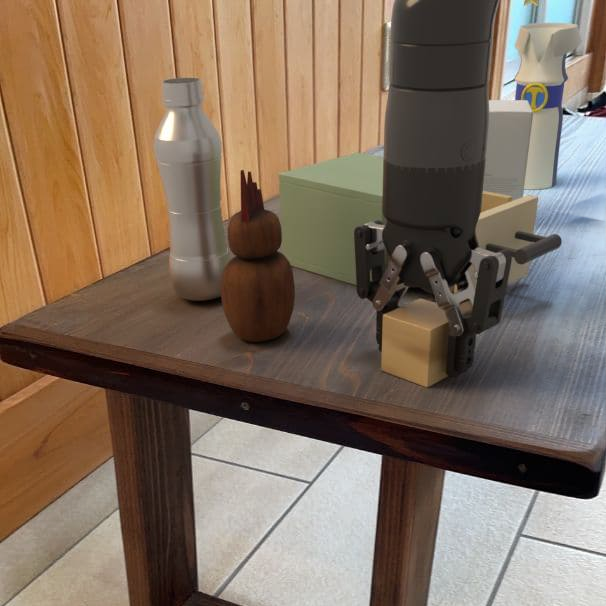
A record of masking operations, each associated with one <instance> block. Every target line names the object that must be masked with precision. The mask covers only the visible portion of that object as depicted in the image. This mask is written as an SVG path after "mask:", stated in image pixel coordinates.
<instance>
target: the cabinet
mask: <svg viewBox="0 0 606 606" xmlns="http://www.w3.org/2000/svg"><path fill="white" fill-rule="evenodd" d="M382 194H383V156H379V155H372V154H369V153H361V152H353V153H349V154H347V155H343V156H339V157H335V158H332V159H327V160H323V161H320V162H315V163H312V164H309V165H305V166H301V167H298V168H294V169H291V170H287V171H283V172H279V173H278V195H279V215H280V216H279V217H280V219H279V221H280V224H281V231H282V243H281V253H282V254H283V255H285V257H286V258H287V259H288V261H289V262H290V265H291V267H294V268H298V269H301V270H303V271H308V272H311V273H313V274H317V275H320V276H324V277H327V278H330V279H334V280H337V281H341V282H343V283H347V284H350V285H354V286H357V284H356V263H355V242H354V230H355V228H356V227H359V226H361V225H363V224H366V223H369V222H373V221H376V220H380V221H381V222H382V223H383V225H386V222H387V220H386V218H385V217H384V216H383V213H382ZM385 270H386V247H385ZM370 281H372V276H371V271H370Z"/></svg>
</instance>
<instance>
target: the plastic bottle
mask: <svg viewBox="0 0 606 606" xmlns="http://www.w3.org/2000/svg"><path fill="white" fill-rule="evenodd" d="M161 91H162V98H161V100H162V105H163V106H165V108H166V109H165V112H164V115H163V116H162V119H161V120H160V122H159V125H158V127H157V130H156V132H155V134H154V139H153V145H152V146H153V152H154V157H155V161H156V165H157V168H158V173H159V176H160V180H161V185H162V188H163V194H164V199H165V200H164V201H165V204H166V207H167V208H166V211H167V217H168V229H169V230H168V231H169V232H168V233H169V251H170V252H169V258H168V276H169V279H170V283H171V286H172V289H173V290H174V292H175V293H176V294H177V295H178V296H179V297H180V298H181V299H184V300H188V301H208V300H209V301H210V300H213V299H217V298H220V297H221V277H222V274H223V271H224V267H225V266H226V265H227V263H228V262H229V261H230V260H231V259H232V258H231V254H230V251H229V247H228V245H227V239H226V232H225V227H224V220H223V215H222V212H223V211H222V203H221V201H222V192H221V191H222V189H221V176H222V153H223V149H222V147H223V145H222V143H223V142H222V139H221V136H220V133H219V131H218V129H217V127H216V126H215V125H214V123H213V121H212V120H211V119H210V117H209V116H208V114H207V113H206V112H205V111H204V110H203V106H202V104H203V103H205V95H204V94H203V93H204V92H203V91H204V90H203V81H202V79H201V78H198V77H175V78H167V79H163V80H162V81H161Z"/></svg>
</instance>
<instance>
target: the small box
mask: <svg viewBox="0 0 606 606" xmlns="http://www.w3.org/2000/svg"><path fill="white" fill-rule="evenodd" d="M532 118H533V111H532V109H531V106H530V104H529V102H528V100H515V99H489V129H488V140H487V150H486V162H485V173H484V183H483V191H488V192H493V193H498V194H503V195H508V196H512V201H514V200H516V199H519V198H522V197H524V190H525V189H524V182H525V174H526V166H527V158H528V150H529V141H530V133H531V125H532Z"/></svg>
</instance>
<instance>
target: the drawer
mask: <svg viewBox="0 0 606 606" xmlns="http://www.w3.org/2000/svg"><path fill="white" fill-rule="evenodd" d="M538 203H539V196H536V195H531V194H526V195H523V197H522V198H519V199H516V200H514V201H512V196H508V195H503V194H498V193H493V192H488V191H483V194H482V205H481V213H480V216H479V219H478V222H477V225H476V237H477V241H478V244H479V248H482V249H485V250H488V251H491V252H494V253H497V252H500V251H502V250H507V251H509V252H510V254H511V256H512V262H511V267H510V272H509V278H508V283H507V286H508V285H510V284H512V283H514V282H516V281H518V280H520V279H523V278H525V277H528V276H529V272H530V265H531V262H532V261H534V260H536V259H538V258H540V257H542V256H544V255H547V254H549V253H552V252H554V251H556V250H557V249H560V247H561V246H562V242H563V241H562V237H561V236H560V235H559V234H557V233H553V234H551V235H548V236H543V235H539V234H535V228H536V227H535V226H536V218H537V212H538V211H537V210H538V205H539V204H538ZM390 261H391V258H390V256H389V254H388V252H387V249H386V268H387V266H388V265H389V263H390ZM468 270H469V273H470V276H471V279H472V282H473V285H474V288H475V290H476V284H477V279H474V278H473V274H474V273H475V269H474V266H473V264H472V265H471V266H470V267H469V269H468ZM449 289H450V291H451V293H453V294H455V293H456V292H457V285H456V284H455V285H454V286H453V287H451V288H449Z"/></svg>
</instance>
